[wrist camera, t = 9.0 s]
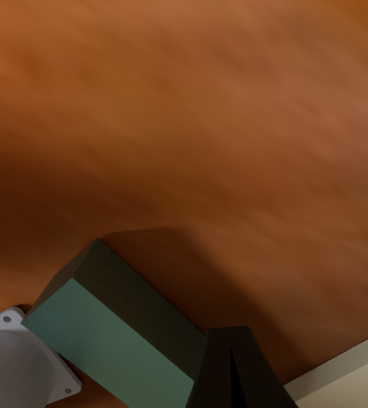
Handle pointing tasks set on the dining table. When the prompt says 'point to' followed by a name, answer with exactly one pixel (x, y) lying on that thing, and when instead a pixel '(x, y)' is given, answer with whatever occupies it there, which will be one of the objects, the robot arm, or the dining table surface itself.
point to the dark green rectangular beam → (118, 330)
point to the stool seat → (334, 382)
